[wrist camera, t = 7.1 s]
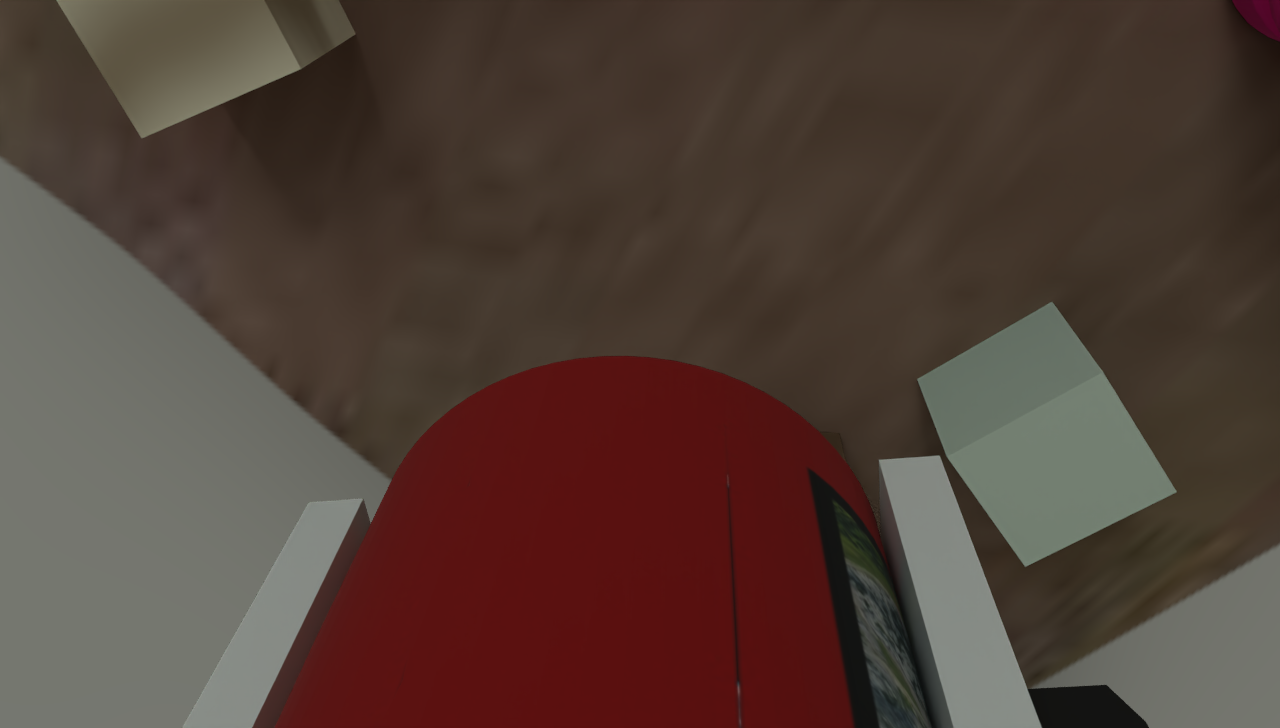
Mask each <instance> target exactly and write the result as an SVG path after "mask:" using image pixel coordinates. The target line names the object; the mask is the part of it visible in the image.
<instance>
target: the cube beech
mask: <svg viewBox="0 0 1280 728" xmlns="http://www.w3.org/2000/svg"><path fill="white" fill-rule="evenodd" d="M56 1H57V2H58V4H59V5H60V7H61V9H62V10H63V12H64V14H65V15H66V17H67V18H68V20H69V22H70V23H71V25H72V27H73V28H74V30H75V31H76V33H77V35H78V36H79V38H80V39H81V41H82V43H83V44H84V46H85V48H86V49H87V51H88V52H89V54H90V56H91V57H92V59H93V61H94V62H95V64H96V65H97V67H98V69H99V70H100V72H101V73H102V75H103V77H104V78H105V80H106V82H107V83H108V85H109V86H110V88H111V90H112V91H113V93H114V95H115V96H116V98H117V99H118V101H119V103H120V104H121V106H122V107H123V109H124V111H125V112H126V114H127V116H128V117H129V119H130V120H131V122H132V124H133V125H134V127H135V129H136V130H137V132H138V133H139V135H140V137H141V138H144V137H146V136H149V135H151V134H153V133H155V132H158V131H160V130H162V129H165V128H167V127H169V126H172V125H174V124H176V123H178V122H181V121H183V120H185V119H188V118H190V117H192V116H194V115H197V114H199V113H201V112H204V111H206V110H208V109H211V108H213V107H215V106H217V105H220V104H222V103H224V102H227V101H229V100H231V99H234V98H236V97H238V96H240V95H243V94H245V93H247V92H250V91H252V90H254V89H257V88H259V87H261V86H263V85H266V84H268V83H270V82H273V81H275V80H277V79H280V78H282V77H284V76H286V75H289V74H291V73H293V72H296V71H298V70H300V69H302V68H304V67H305V66H307V65H308V64H310V63H311V62H313V61H315V60H316V59H318V58H319V57H321V56H322V55H324V54H326V53H327V52H329V51H330V50H332V49H333V48H335V47H337V46H338V45H340V44H341V43H343V42H344V41H346V40H348V39H349V38H351V37H352V36H354V35H355V34H356V33H355V31H354V29H353V27H352V26H351V24H350V22H349V20H348V18H347V16H346V14H345V12H344V10H343V8H342V6H341V4H340V2H339V0H56Z"/></svg>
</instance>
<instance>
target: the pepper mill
mask: <svg viewBox="0 0 1280 728" xmlns="http://www.w3.org/2000/svg"><path fill="white" fill-rule="evenodd" d="M1232 1H1233V3H1234V5H1235V7H1236V9H1237V10H1238V11H1239V13H1240V14H1241V15H1242V16H1243V18H1244V19H1245V20H1246V21H1247V23H1249V24H1250V25H1251V26H1252V27H1254V28H1255V29H1256V30H1258V31H1259V32H1261V33H1262V34H1264V35H1266V36H1267V37H1269V38H1271V39H1274V40H1277V41H1279V42H1280V0H1232Z"/></svg>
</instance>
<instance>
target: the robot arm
mask: <svg viewBox="0 0 1280 728" xmlns="http://www.w3.org/2000/svg"><path fill="white" fill-rule="evenodd" d="M879 492H880V538H881V541H882V545H883V548H884V552H885V556H886V559H887V563H888V566H889V570H890V574H891V577H892V581H893V584H894V588H895V592H896V595H897V599H898V602H899V606H900V610H901V613H902V617H903V620H904V624H905V628H906V631H907V635H908V638H909V642H910V646H911V649H912V653H913V656H914V660H915V664H916V668H917V671H918V675H919V679H920V683H921V687H922V690H923V694H924V698H925V702H926V706H927V709H928V713H929V717H930V721H931V725H932V728H1149V727H1148V725H1147V724H1146V722H1145V721H1144V720H1143V719H1142V718H1141V717H1140V716H1139V715H1138V714H1137V713H1136V712H1134V710H1132V709H1131V708H1130V707H1129V706H1128V705H1127V704H1126V703H1125V702H1124V701H1123V700H1122V699H1121V698H1120V697H1119V696H1118V695H1116V694H1115V693H1114V692H1113V691H1112V690H1111V689H1110V688H1109V687H1108V686H1107V685H1099V686H1097V685H1096V686H1079V687H1058V688H1040V689H1027V687H1026V684H1025V682H1024V679H1023V676H1022V674H1021V671H1020V668H1019V666H1018V663H1017V660H1016V658H1015V655H1014V652H1013V650H1012V647H1011V644H1010V642H1009V639H1008V636H1007V634H1006V631H1005V628H1004V626H1003V623H1002V620H1001V618H1000V615H999V612H998V610H997V607H996V604H995V602H994V599H993V596H992V594H991V591H990V588H989V586H988V583H987V580H986V578H985V575H984V573H983V570H982V567H981V565H980V562H979V559H978V557H977V554H976V551H975V549H974V546H973V543H972V541H971V538H970V535H969V533H968V530H967V527H966V525H965V522H964V519H963V517H962V514H961V511H960V509H959V506H958V503H957V501H956V498H955V495H954V493H953V490H952V487H951V485H950V482H949V479H948V477H947V474H946V471H945V469H944V466H943V463H942V461H941V458H940V456H926V457H913V458H899V459H886V460H879ZM369 526H370V521H369V517H368V514H367V510H366V506H365V503H364V499H363V498H360V499H346V500H333V501H320V502H309V503H308V504H307V506H306V508H305V510H304V511H303V513H302V515H301V517H300V519H299V520H298V522H297V524H296V526H295V528H294V529H293V531H292V533H291V535H290V536H289V538H288V540H287V542H286V543H285V545H284V547H283V549H282V551H281V552H280V554H279V556H278V558H277V559H276V561H275V563H274V565H273V567H272V569H271V570H270V572H269V574H268V576H267V577H266V579H265V581H264V583H263V585H262V586H261V588H260V590H259V592H258V593H257V595H256V597H255V599H254V601H253V602H252V604H251V606H250V608H249V610H248V611H247V613H246V615H245V617H244V618H243V620H242V622H241V624H240V626H239V627H238V629H237V631H236V633H235V634H234V636H233V638H232V640H231V641H230V643H229V645H228V647H227V649H226V651H225V652H224V654H223V656H222V658H221V659H220V661H219V663H218V665H217V667H216V668H215V670H214V672H213V674H212V675H211V677H210V679H209V681H208V682H207V684H206V686H205V688H204V690H203V691H202V693H201V695H200V697H199V698H198V700H197V702H196V704H195V706H194V707H193V709H192V711H191V713H190V715H189V716H188V718H187V720H186V722H185V723H184V725H183V727H182V728H274V727H275V725H276V723H277V721H278V719H279V717H280V714H281V712H282V710H283V708H284V706H285V704H286V701H287V699H288V697H289V695H290V693H291V691H292V688H293V686H294V684H295V682H296V680H297V678H298V675H299V673H300V671H301V669H302V667H303V665H304V662H305V660H306V658H307V656H308V654H309V652H310V649H311V647H312V645H313V643H314V641H315V639H316V637H317V635H318V632H319V630H320V628H321V626H322V624H323V622H324V620H325V618H326V616H327V614H328V612H329V610H330V607H331V605H332V603H333V601H334V599H335V597H336V595H337V593H338V591H339V589H340V587H341V585H342V583H343V580H344V578H345V576H346V574H347V572H348V570H349V568H350V566H351V564H352V562H353V560H354V558H355V556H356V553H357V551H358V549H359V547H360V545H361V543H362V541H363V539H364V537H365V535H366V533H367V531H368V529H369Z"/></svg>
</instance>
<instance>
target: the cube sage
mask: <svg viewBox="0 0 1280 728" xmlns="http://www.w3.org/2000/svg"><path fill="white" fill-rule="evenodd" d="M917 380H918V383H919V386H920V388H921V391H922V393H923V396H924V399H925V401H926V404H927V406H928V409H929V412H930V414H931V417H932V419H933V422H934V425H935V427H936V430H937V432H938V435H939V438H940V440H941V443H942V445H943V448H944V451H945V453H946V456H947V458H948V459H949V460H950V462H951V463H952V465H953V466H954V467H955V469H956V470H957V472H958V473H959V475H960V476H961V477H962V479H963V480H964V482H965V483H966V484H967V486H968V487H969V489H970V490H971V491H972V493H973V494H974V496H975V497H976V498H977V500H978V501H979V503H980V504H981V505H982V507H983V508H984V510H985V511H986V512H987V514H988V515H989V517H990V518H991V519H992V521H993V522H994V524H995V525H996V526H997V528H998V529H999V531H1000V532H1001V534H1002V535H1003V536H1004V538H1005V539H1006V541H1007V542H1008V543H1009V545H1010V546H1011V548H1012V549H1013V550H1014V552H1015V553H1016V555H1017V556H1018V557H1019V559H1020V560H1021V562H1022V563H1023V564H1024V566H1025V567H1026V566H1028V565H1030V564H1032V563H1034V562H1036V561H1038V560H1040V559H1042V558H1044V557H1046V556H1048V555H1050V554H1052V553H1054V552H1057V551H1059V550H1061V549H1063V548H1065V547H1067V546H1069V545H1071V544H1073V543H1075V542H1077V541H1079V540H1081V539H1083V538H1085V537H1087V536H1089V535H1091V534H1093V533H1095V532H1097V531H1099V530H1101V529H1103V528H1105V527H1107V526H1109V525H1111V524H1113V523H1115V522H1117V521H1119V520H1121V519H1123V518H1125V517H1127V516H1129V515H1131V514H1133V513H1135V512H1137V511H1139V510H1141V509H1143V508H1146V507H1148V506H1150V505H1152V504H1154V503H1156V502H1158V501H1160V500H1162V499H1164V498H1166V497H1168V496H1170V495H1172V494H1174V493H1176V490H1175V488H1174V487H1173V485H1172V483H1171V482H1170V480H1169V479H1168V477H1167V475H1166V474H1165V472H1164V470H1163V469H1162V467H1161V466H1160V464H1159V462H1158V461H1157V459H1156V457H1155V456H1154V454H1153V453H1152V451H1151V449H1150V448H1149V446H1148V444H1147V443H1146V441H1145V440H1144V438H1143V436H1142V435H1141V433H1140V431H1139V430H1138V428H1137V427H1136V425H1135V423H1134V422H1133V420H1132V418H1131V417H1130V415H1129V414H1128V412H1127V410H1126V409H1125V407H1124V405H1123V404H1122V402H1121V401H1120V399H1119V397H1118V396H1117V394H1116V392H1115V391H1114V389H1113V388H1112V386H1111V384H1110V383H1109V381H1108V379H1107V378H1106V376H1105V375H1104V373H1103V371H1102V370H1101V369H1100V367H1099V366H1098V364H1097V363H1096V362H1095V360H1094V359H1093V358H1092V356H1091V355H1090V353H1089V352H1088V351H1087V349H1086V348H1085V346H1084V345H1083V344H1082V342H1081V341H1080V340H1079V338H1078V337H1077V335H1076V334H1075V333H1074V331H1073V330H1072V328H1071V327H1070V326H1069V324H1068V323H1067V322H1066V320H1065V319H1064V317H1063V316H1062V315H1061V313H1060V312H1059V310H1058V309H1057V308H1056V306H1055V305H1054V304H1053V302H1051V303H1049V304H1047V305H1045V306H1044V307H1042V308H1040V309H1038V310H1037V311H1035V312H1033V313H1032V314H1030V315H1028V316H1026V317H1025V318H1023V319H1021V320H1019V321H1018V322H1016V323H1014V324H1012V325H1011V326H1009V327H1007V328H1005V329H1004V330H1002V331H1000V332H998V333H997V334H995V335H993V336H992V337H990V338H988V339H986V340H985V341H983V342H981V343H979V344H978V345H976V346H974V347H972V348H971V349H969V350H967V351H965V352H964V353H962V354H960V355H958V356H957V357H955V358H953V359H952V360H950V361H948V362H946V363H945V364H943V365H941V366H939V367H938V368H936V369H934V370H932V371H931V372H929V373H927V374H925V375H924V376H922V377H920V378H918V379H917Z"/></svg>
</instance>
